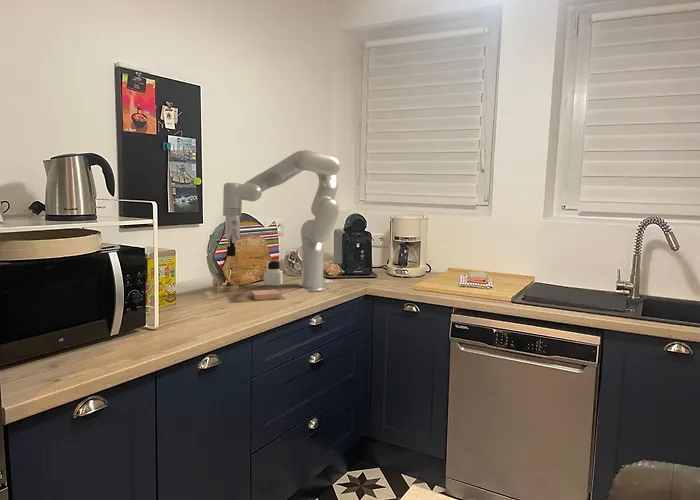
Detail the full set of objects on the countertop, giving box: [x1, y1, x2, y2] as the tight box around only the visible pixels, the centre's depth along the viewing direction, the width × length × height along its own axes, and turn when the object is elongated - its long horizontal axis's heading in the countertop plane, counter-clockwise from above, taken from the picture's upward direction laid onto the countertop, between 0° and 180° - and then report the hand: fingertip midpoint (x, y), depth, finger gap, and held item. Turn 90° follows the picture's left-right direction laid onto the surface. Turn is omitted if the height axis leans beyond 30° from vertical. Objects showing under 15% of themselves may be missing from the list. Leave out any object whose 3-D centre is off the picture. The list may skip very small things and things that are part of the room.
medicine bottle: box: [263, 260, 283, 287], centre depth 241 cm, size 7×7×12 cm
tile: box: [251, 289, 281, 300], centre depth 213 cm, size 10×2×8 cm
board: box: [224, 292, 286, 304], centre depth 214 cm, size 22×16×2 cm
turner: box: [216, 285, 240, 293], centre depth 225 cm, size 17×7×4 cm, turn 111°
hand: (231, 255), depth 221 cm, fingers closed
